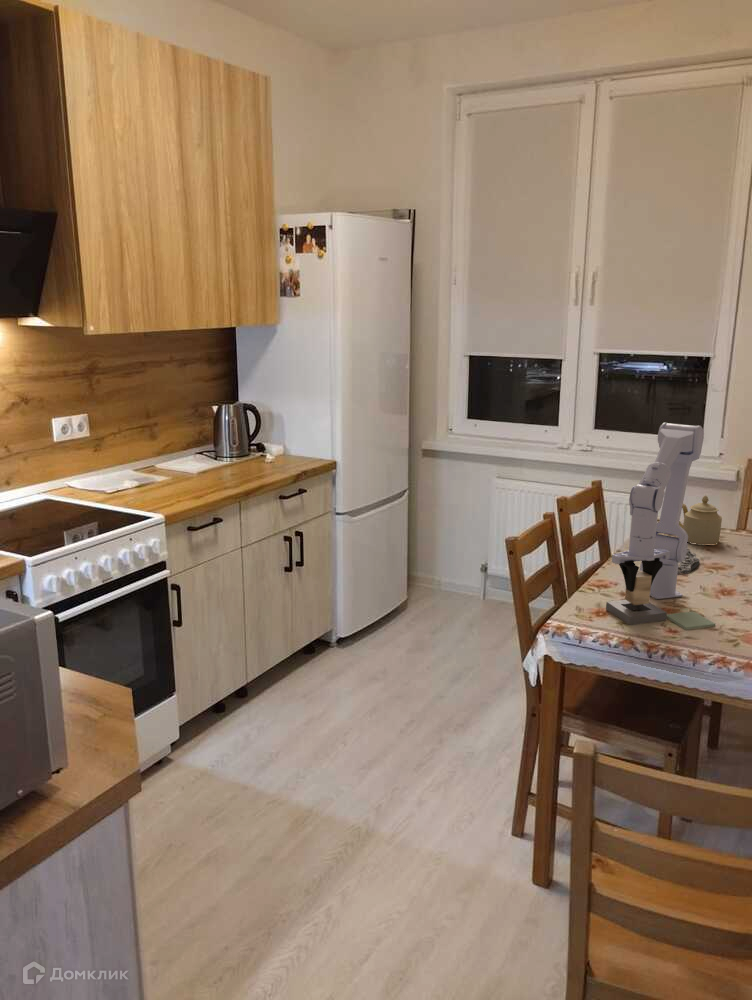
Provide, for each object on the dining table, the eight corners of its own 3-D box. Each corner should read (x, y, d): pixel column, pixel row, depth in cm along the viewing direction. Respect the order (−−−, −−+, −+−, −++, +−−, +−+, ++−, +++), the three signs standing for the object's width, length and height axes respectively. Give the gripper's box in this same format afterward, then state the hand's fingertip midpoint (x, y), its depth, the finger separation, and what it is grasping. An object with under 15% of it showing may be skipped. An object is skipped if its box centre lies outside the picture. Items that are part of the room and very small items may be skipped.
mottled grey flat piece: (667, 542, 243) (701, 544, 239) (667, 547, 243) (701, 549, 239) (659, 570, 218) (697, 573, 214) (659, 575, 218) (697, 578, 214)
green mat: (664, 616, 187) (664, 614, 187) (692, 613, 189) (692, 611, 189) (686, 629, 179) (686, 627, 179) (715, 626, 182) (715, 623, 181)
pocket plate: (605, 609, 191) (606, 601, 191) (641, 605, 194) (641, 597, 193) (629, 624, 182) (630, 617, 181) (666, 620, 185) (666, 612, 184)
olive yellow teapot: (667, 541, 247) (672, 495, 243) (670, 532, 256) (675, 488, 253) (718, 547, 241) (724, 500, 237) (719, 538, 250) (724, 493, 247)
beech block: (624, 599, 188) (627, 571, 187) (639, 597, 190) (641, 570, 188) (634, 605, 185) (637, 577, 183) (649, 603, 186) (651, 575, 184)
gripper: (625, 542, 177) (621, 598, 181) (680, 537, 181) (674, 592, 185) (608, 533, 184) (604, 587, 187) (661, 529, 188) (656, 582, 191)
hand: (637, 589), depth 186 cm, fingers closed on beech block, 4 cm apart
